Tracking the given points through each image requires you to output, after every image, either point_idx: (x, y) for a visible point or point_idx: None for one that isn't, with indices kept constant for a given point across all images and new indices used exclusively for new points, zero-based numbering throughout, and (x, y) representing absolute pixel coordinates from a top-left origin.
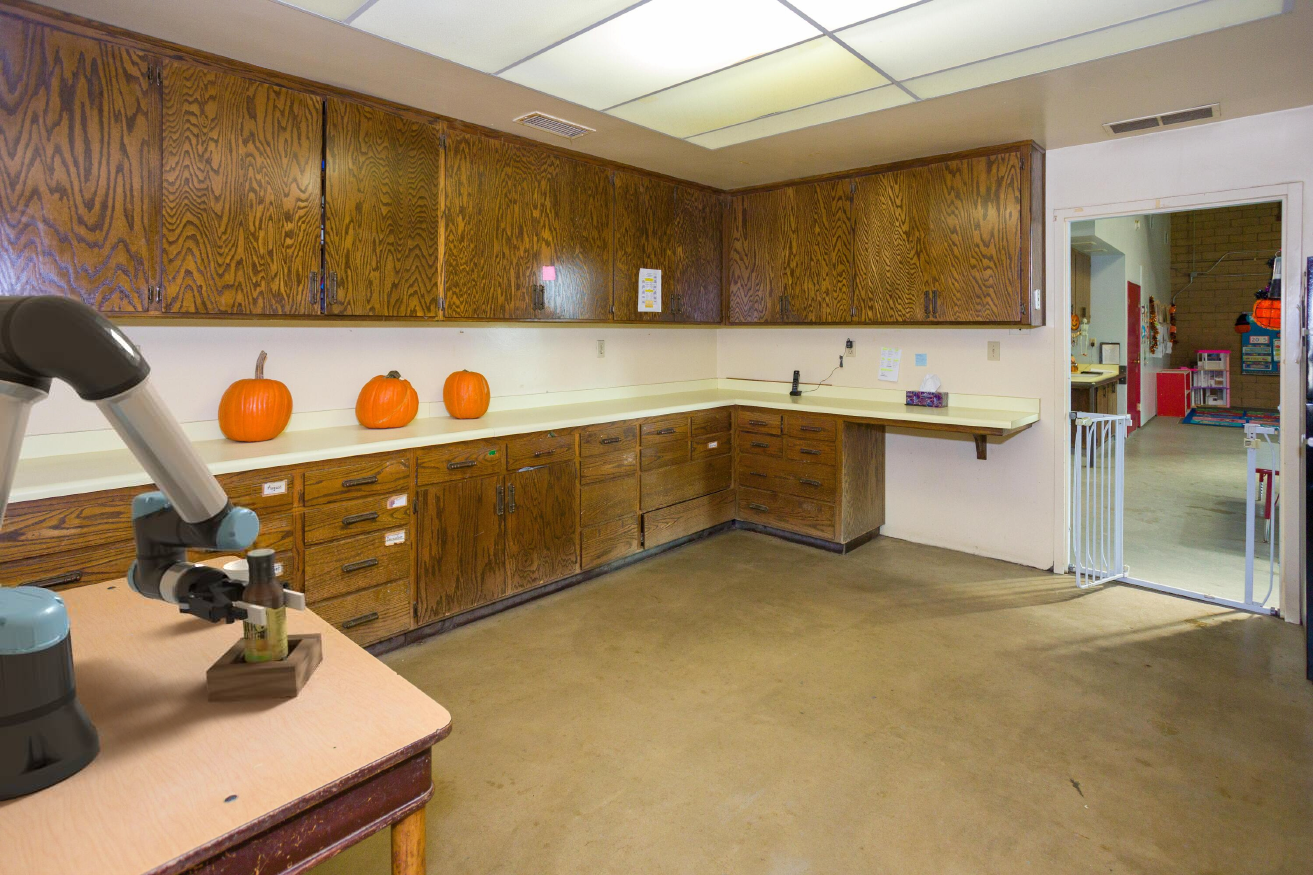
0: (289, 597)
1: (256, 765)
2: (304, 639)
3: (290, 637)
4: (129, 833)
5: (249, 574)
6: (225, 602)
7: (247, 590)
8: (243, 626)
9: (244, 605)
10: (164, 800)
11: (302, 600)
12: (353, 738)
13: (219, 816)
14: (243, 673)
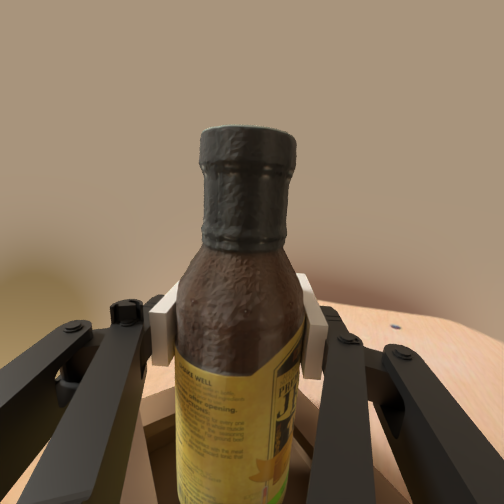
0: None
1: (367, 338)
2: (145, 421)
3: (128, 473)
4: (480, 348)
5: (284, 220)
6: (351, 356)
7: (294, 274)
8: (292, 406)
9: (316, 301)
10: (455, 358)
11: None
12: None
13: (406, 321)
14: None
